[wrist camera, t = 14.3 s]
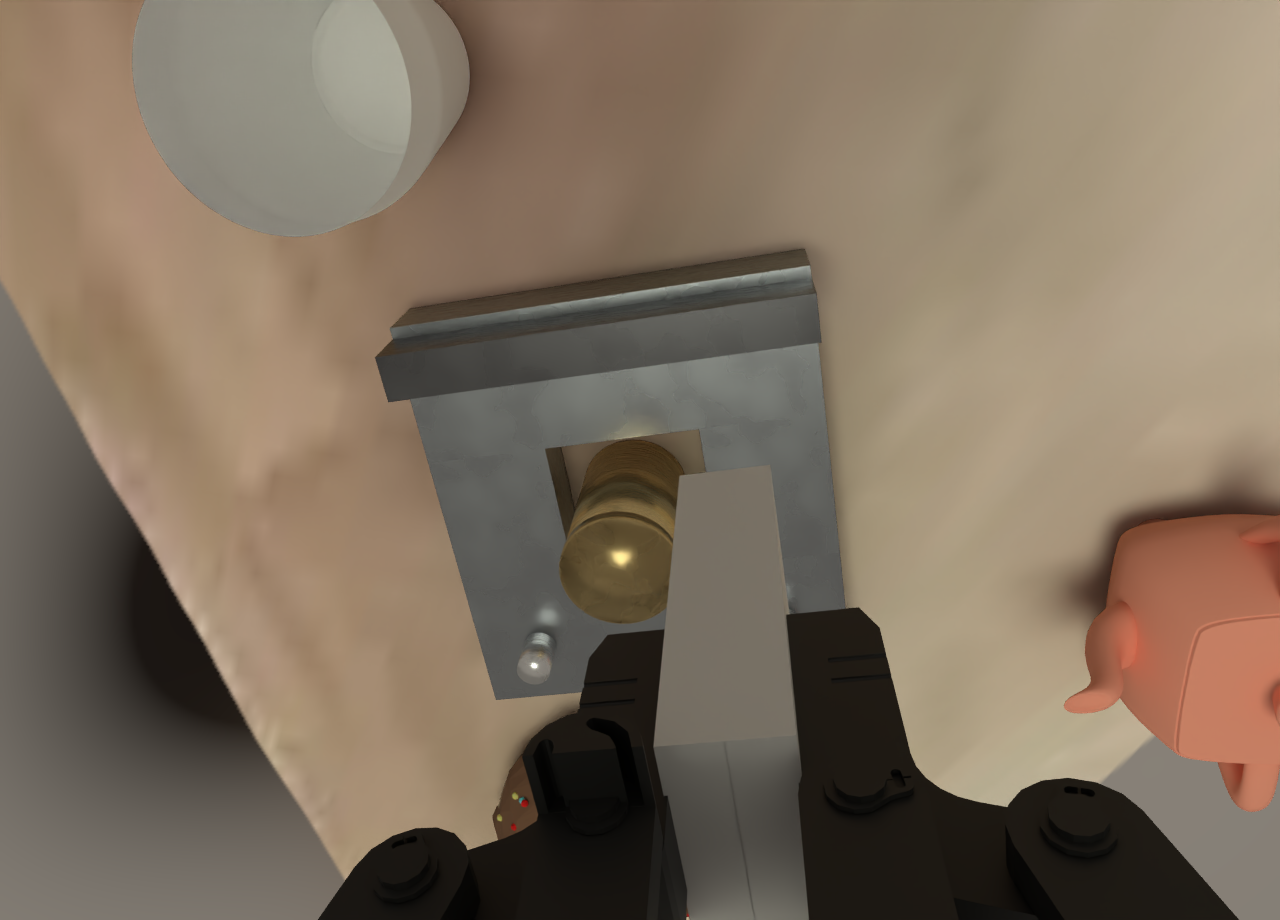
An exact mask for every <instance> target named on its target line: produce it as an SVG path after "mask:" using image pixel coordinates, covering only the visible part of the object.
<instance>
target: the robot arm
mask: <svg viewBox="0 0 1280 920" xmlns="http://www.w3.org/2000/svg"><path fill="white" fill-rule="evenodd" d="M522 759H523V762H524V766H525V769H526V773H527V777H528V780H529V784H530V787H531V791H532V794H533V798H534V802H535V805H536V809H537V812H538V817H537V821H536V822H534V823H533V824H531V825H530V826H528V827H526V828H525V829H523V830H522V831H520V832H517V833H515V834H513V835H510V836H508V837H506V838H503V839H500V840H497V841H494V842H491V843H488V844H485V845H482V846H479V847H476V848H473V849H470V850H467V848H466V846H465V844H464V843H463V842H462V841H461V840H460V839H459V838H458V837H457V836H456V834H454V833H451V832H449V831H446V830H443V829H440V828H415V829H412V830H409V831H406V832H403V833H400V834H397V835H394V836H392V837H390V838H389V839H387V840H385V841H384V842H382V843H381V844H379V845H377V846H376V847H374V848H373V849H371V850H370V851H369V852H368V853H367V854H366V856H365V857H364V858H363V859H362V860H361V861H360V862H359V863H358V864H357V865H356V866H355V867H354V869H353V870H352V872H351V873H350V875H349V876H348V877H347V879H346V880H345V882H344V883H343V885H342V886H341V887H340V889H339V890H338V892H337V893H336V894H335V896H334V897H333V899H332V900H331V902H330V903H329V904H328V906H327V908H326V909H325V911H324V912H323V913H322V914H321V916H320V917H319V919H318V920H686V909H688V914H689V919H690V920H1239V919H1238V918H1237V917H1236V916H1235V915H1234V914H1233V912H1232V911H1231V910H1230V909H1229V908H1228V907H1227V906H1226V904H1224V902H1223V901H1222V900H1221V899H1220V898H1219V896H1218V895H1217V894H1216V893H1215V892H1214V891H1213V890H1212V889H1211V887H1210V886H1209V885H1208V884H1207V883H1206V882H1205V881H1204V879H1203V878H1202V877H1201V876H1200V875H1199V874H1198V873H1197V872H1196V870H1195V869H1194V868H1193V867H1192V866H1191V865H1190V864H1189V862H1188V861H1187V860H1186V859H1185V858H1184V857H1183V856H1182V854H1181V853H1180V852H1179V851H1178V850H1177V849H1176V848H1175V847H1174V845H1173V844H1172V843H1171V842H1170V841H1169V840H1168V839H1167V837H1166V836H1165V835H1164V834H1163V833H1162V832H1161V831H1160V830H1159V828H1158V827H1157V826H1156V825H1155V824H1154V823H1153V821H1152V820H1151V819H1150V818H1149V817H1148V816H1147V815H1146V814H1145V812H1144V811H1143V810H1142V809H1140V808H1139V807H1138V806H1137V805H1135V804H1134V803H1133V802H1131V800H1129V799H1128V798H1127V797H1126V796H1124V795H1123V794H1122V793H1119V792H1117V791H1115V790H1112V789H1110V788H1108V787H1105V786H1103V785H1101V784H1099V783H1096V782H1090V781H1084V780H1078V779H1072V778H1063V779H1053V780H1043V781H1040V782H1038V783H1036V784H1033V785H1031V786H1029V787H1027V788H1025V789H1022V790H1021V791H1020V792H1019V793H1018V794H1017V795H1016V797H1015V798H1014V799H1013V800H1012V801H1011V802H1010V804H1009V805H1008V807H1003V806H998V805H992V804H986V803H980V802H976V801H972V800H968V799H964V798H961V797H957V796H955V795H953V794H951V793H949V792H947V791H944V790H942V789H940V788H939V787H937V786H936V785H935V784H933V783H932V782H931V781H929V780H928V779H927V778H925V776H924V775H923V774H922V773H921V772H920V770H919V769H918V768H917V767H916V765H915V763H914V761H913V758H912V756H911V754H910V750H909V746H908V742H907V737H906V733H905V729H904V725H903V721H902V717H901V713H900V709H899V705H898V701H897V697H896V693H895V689H894V685H893V681H892V678H891V673H890V668H889V664H888V660H887V658H886V652H885V648H884V644H883V640H882V636H881V632H880V628H879V627H878V626H877V625H876V624H875V623H874V622H873V621H872V620H871V619H870V618H869V617H868V616H867V615H866V614H865V613H864V612H863V611H862V610H861V609H860V608H859V607H858V608H848V609H837V610H827V611H817V612H807V613H797V614H789V607H788V599H787V592H786V584H785V576H784V568H783V561H782V553H781V545H780V538H779V530H778V522H777V514H776V507H775V499H774V491H773V483H772V476H771V468H770V465H764V466H756V467H747V468H739V469H731V470H723V471H714V472H706V473H698V474H689V475H681V476H679V487H678V497H677V507H676V518H675V528H674V538H673V549H672V559H671V570H670V580H669V590H668V601H667V611H666V621H665V629H661V630H651V631H641V632H630V633H620V634H610V635H607V636H606V638H605V639H604V640H603V641H602V642H601V644H600V645H599V646H598V647H597V649H596V650H595V651H594V652H593V654H592V655H591V656H590V657H589V660H588V665H587V670H586V675H585V680H584V688H583V689H582V694H581V699H580V709H578V713H576V714H572V715H567V716H565V717H563V718H561V719H559V720H557V721H555V722H553V723H551V724H549V725H547V726H545V727H544V728H543V729H542V730H541V731H540V732H539V733H538V734H536V735H535V736H534V737H533V738H532V739H531V740H530V742H529V743H528V745H527V747H526V749H525V751H524V753H523V755H522Z"/></svg>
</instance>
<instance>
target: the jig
mask: <svg viewBox="0 0 1280 920" xmlns="http://www.w3.org/2000/svg"><path fill="white" fill-rule="evenodd" d="M390 331H391V334H392V338H393V340H392V341H391V342H390V343H389V344H388V345H387V346H386V347H385V348H384V349H383V350H382V351H381V352H380V353H379V354H378V355H377V356H376V357H375V359H376V362H377V366H378V369H379V372H380V376H381V379H382V382H383V386H384V389H385V393H386V396H387V399H388V402H394V401H401V400H408V399H410V401H411V404H412V408H413V411H414V415H415V418H416V422H417V425H418V429H419V432H420V436H421V439H422V443H423V446H424V450H425V453H426V457H427V460H428V464H429V467H430V471H431V474H432V478H433V481H434V485H435V488H436V492H437V495H438V499H439V502H440V506H441V509H442V513H443V516H444V520H445V523H446V527H447V530H448V534H449V537H450V541H451V544H452V548H453V551H454V555H455V558H456V562H457V565H458V569H459V572H460V576H461V579H462V583H463V586H464V590H465V593H466V597H467V600H468V604H469V607H470V611H471V614H472V618H473V621H474V624H475V628H476V631H477V635H478V638H479V642H480V645H481V649H482V652H483V656H484V659H485V663H486V666H487V670H488V673H489V677H490V680H491V684H492V687H493V691H494V694H495V698H496V700H501V699H512V698H523V697H533V696H544V695H555V694H566V693H577V692H582V689H583V688H584V680H585V675H586V670H587V665H588V660H589V657H590V656H591V655H592V654H593V652H594V651H595V650H596V649H597V647H598V646H599V645H600V644H601V642H602V641H603V640H604V639H605V638H606V636H607V635H610V634H620V633H630V632H641V631H651V630H661V629H665V621H666V611H667V608H666V609H665V610H663V611H662V612H661V613H659V614H658V615H656V616H654V617H652V618H650V619H647V620H645V621H641V622H637V623H631V624H616V623H610V622H605V621H602V620H599V619H596V618H594V617H592V616H590V615H588V614H586V613H585V612H584V611H582V610H581V609H579V608H578V607H577V606H576V605H575V604H574V603H573V602H572V601H571V599H570V598H569V597H568V595H567V594H566V592H565V590H564V588H563V586H562V583H561V580H560V575H559V562H560V557H561V553H562V550H563V547H564V544H565V542H566V540H567V537H568V534H569V530H570V527H571V523H572V520H573V516H574V513H575V509H574V504H573V500H572V495H571V491H570V486H569V482H568V477H567V473H566V468H565V464H564V459H563V455H562V451H561V447H563V446H570V445H578V444H586V443H594V442H602V441H610V440H617V439H625V438H633V437H641V436H649V435H656V434H664V433H672V432H680V431H688V430H696V429H699V431H700V437H701V444H702V450H703V456H704V462H705V469H706V472H714V471H723V470H731V469H739V468H747V467H756V466H764V465H770V468H771V476H772V483H773V491H774V499H775V507H776V514H777V522H778V530H779V538H780V545H781V553H782V561H783V568H784V576H785V584H786V592H787V599H788V607H789V614H797V613H807V612H817V611H827V610H837V609H845V599H844V589H843V579H842V570H841V560H840V550H839V540H838V531H837V521H836V511H835V501H834V492H833V482H832V472H831V462H830V453H829V443H828V433H827V423H826V414H825V404H824V394H823V384H822V375H821V365H820V355H819V345H818V343H821V333H820V323H819V313H818V303H817V294H816V290H815V287H814V284H813V281H812V277H811V267H810V263H809V260H808V257H807V254H806V251H805V249H800V250H793V251H787V252H780V253H773V254H767V255H760V256H754V257H747V258H740V259H734V260H727V261H721V262H714V263H708V264H701V265H694V266H688V267H681V268H675V269H668V270H661V271H655V272H648V273H642V274H635V275H628V276H622V277H615V278H609V279H602V280H595V281H589V282H582V283H576V284H569V285H563V286H556V287H549V288H543V289H536V290H530V291H523V292H516V293H510V294H503V295H497V296H490V297H483V298H477V299H470V300H464V301H457V302H451V303H444V304H437V305H431V306H424V307H418V308H411V309H409V310H408V311H407V312H406V313H405V314H404V315H403V316H402V317H401V318H400V319H399V320H398V321H397V322H396V323H395V324H394V325H393V326H392V327H391V328H390Z"/></svg>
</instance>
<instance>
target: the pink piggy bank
mask: <svg viewBox="0 0 1280 920" xmlns="http://www.w3.org/2000/svg"><path fill="white" fill-rule="evenodd" d="M1085 656H1086V662H1087V667H1088V670H1089V673H1090V676H1091V682H1090V684H1089V686H1088V687H1087V688H1085V689H1084V690H1082V691H1081V692H1078V693H1077V694H1075V695H1073V696H1071V697H1070V698H1069V699H1068V700H1067V701H1066V702H1065V704H1064V708H1065V709H1066V710H1067V711H1069V712H1073V713H1092V712H1097V711H1101V710H1104V709H1107V708H1109V707H1110V706H1112V705H1113V704H1114V703H1115V702H1116V701H1117V700H1118V699H1119V698H1120V699H1121V700H1122V701H1123V702H1124V704H1125V705H1126V706H1127V708H1128V709H1129V710H1130V711H1131V712H1132V713H1133V714H1134V716H1135V717H1136V718H1137V719H1138V720H1139V721H1140V722H1141V723H1142V724H1143V725H1144V726H1145V727H1146V728H1147V729H1148V730H1150V731H1151V732H1152V733H1153V734H1154V735H1155V736H1156V737H1158V738H1159V739H1160V740H1161V741H1162V742H1163V743H1164V744H1165V745H1166V746H1168V747H1169V748H1170V749H1171V750H1173V751H1174V752H1175V753H1176V754H1178V755H1180V756H1182V757H1186V758H1190V759H1196V760H1204V761H1212V762H1218V765H1219V768H1220V771H1221V774H1222V777H1223V780H1224V783H1225V785H1226V788H1227V790H1228V793H1229V795H1230V796H1231V798H1232V800H1233V801H1234V803H1235V804H1236V805H1237V806H1238V807H1239V808H1241V809H1243V810H1246V811H1249V812H1255V811H1259V810H1262V809H1264V808H1265V807H1267V806H1268V805H1269V803H1270V801H1271V800H1272V798H1273V795H1274V792H1275V789H1276V785H1277V780H1278V775H1279V769H1280V515H1277V516H1272V515H1252V514H1222V515H1208V516H1198V517H1189V518H1181V519H1174V520H1167V521H1165V520H1162V519H1150V520H1147V521H1145V522H1143V523H1141V524H1139V525H1138V526H1137V527H1134V528H1131V529H1129V530H1128V531H1126V532H1124V533H1123V534H1122V535H1121V537H1120V539H1119V541H1118V544H1117V548H1116V552H1115V556H1114V560H1113V565H1112V571H1111V576H1110V582H1109V588H1108V595H1107V602H1106V609H1105V610H1104V611H1103V612H1101V613H1100V614H1099V615H1098V616H1097V617H1096V618H1095V619H1094V621H1093V622H1092V624H1091V626H1090V628H1089V630H1088V633H1087V637H1086V645H1085Z"/></svg>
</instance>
